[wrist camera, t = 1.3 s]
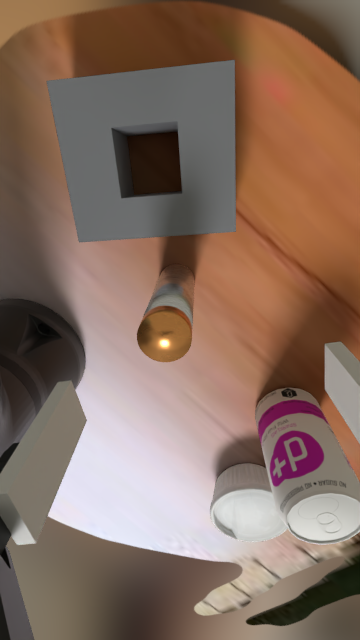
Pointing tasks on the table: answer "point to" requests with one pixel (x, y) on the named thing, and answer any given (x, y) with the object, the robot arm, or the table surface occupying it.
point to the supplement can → (307, 468)
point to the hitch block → (141, 119)
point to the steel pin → (169, 316)
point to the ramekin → (245, 504)
